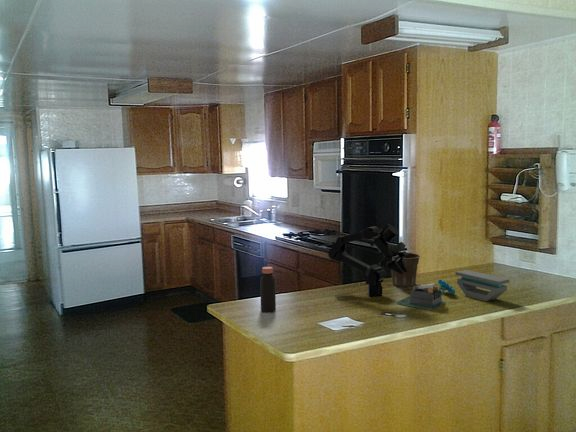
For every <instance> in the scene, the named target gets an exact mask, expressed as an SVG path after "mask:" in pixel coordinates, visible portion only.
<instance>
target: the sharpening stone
mask: <svg viewBox="0 0 576 432" xmlns="http://www.w3.org/2000/svg"><path fill="white" fill-rule="evenodd" d="M455 276H459V278H456V279H457V280H456V284H457V285H458V287H459V288H460V289H461V291H462V293H464V294H463V295H465V297H469V298H472V299H475V300H479V301H483V302H488V301H492V300H496V299H498V298H499V297H500V296H502V295H503V294H505V292H507V291H508V285H505V284H508V283H510V278H505V277H500V276H496V275H492V274H487V273H482V272H477V271H473V270H468V269H464V270H459V271H455Z"/></svg>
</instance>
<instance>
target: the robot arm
mask: <svg viewBox="0 0 576 432" xmlns="http://www.w3.org/2000/svg"><path fill="white" fill-rule="evenodd" d="M399 233H400V232H399V230H398V229H397V227H394V226H393V225H391V224H389V223H388V224H386V225H385V227H383V229H381V228H379V227H377V226H369V227H366V228H363V229H362V230H361V231H359V232H355V233H351V234H347V235H340V236H339V237H337V239H336V241H335V242H334V244H333V245H332V246H331V248H330V249H329V250H328V255H327V256H328V258H329V259H330V260H332V261H335V262H340V263H341V262H342V263H344V264H346V265H348V266H350V267H352V268H353V269H355V270H357V271H359V272H361V273H363V274H365V276H366V278H365V280H364V281H365V284H366V285H367V292H366V294H367V296H368V297H370V298H373V297H376V298H378V297H383V286H382V283H384V280H385V279H386V276H387V272H386V270H385V269H384V268H385V267H386V268H388V269H390V270H391V269H392V270H394V271H396V272H398V273H400V274H403V271H404V272H405V273H406V272H407V269H406V266H405V264H404V258H405V257H406V256H407V255H408V254H407V253H408V252H407V251H406V244H405V243H404V242H403V241H400V242H398V243H397V244H396V245H393V244H389V243H390V242H392V241H393V240H394V239H395V238H396V237H397V236H398V235H399ZM372 239H374V240H372ZM358 240H370V244H369V245H370V247H374V246H375V248H376V249H377V250H378V251H379V255H380V256H383V258H382V259H381V260H380V261H379V265H378V264H376V263H375V264H372V265H369V264H368V263H366V262H363V261H362V260H360V259H358V258H356V257H353V256H351V255H350V254H348V252H347V251H346V248H347V243H350V242H351V243H352V242H355V241H358ZM386 265H387V266H386Z"/></svg>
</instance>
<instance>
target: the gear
mask: <svg viewBox="0 0 576 432" xmlns="http://www.w3.org/2000/svg"><path fill="white" fill-rule="evenodd" d="M437 282H438V283H437V284H438V290H441V296H442V294H443V293H444V292H445V291H447V292H449V293H451V294H455V293H456V290H455V289H454V287H452V285H449V284H450V283H448V282H445V280H442V279H441V278H440V279H437Z"/></svg>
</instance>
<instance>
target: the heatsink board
mask: <svg viewBox="0 0 576 432" xmlns="http://www.w3.org/2000/svg"><path fill="white" fill-rule="evenodd" d="M420 285H422V284H421V283H420V284H419V283H418V284H417V285H414V286H412V290H410V295H409V296H407V297H405V298H402V299H400V300H398V301H396V304H397V305H401V306H405V307H412V308H416V309H417V308H418V309H422V310H427V311H434V310H437V309H439V308H440V307H442V306H444V305H445V304H446V301H442V300H443V299H442V298H443V296H442V295H441V291H442V290H441V289H440V290H438V289H439V286H434V287H430V288H423V289H416V286H420Z"/></svg>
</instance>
